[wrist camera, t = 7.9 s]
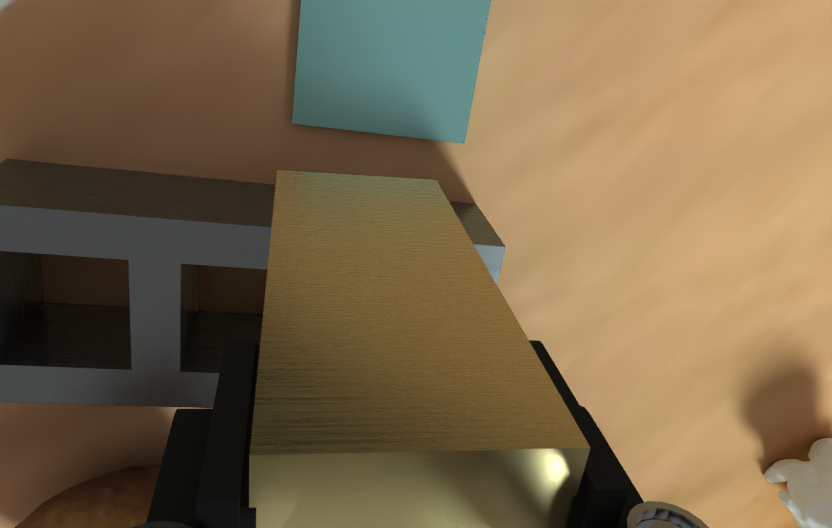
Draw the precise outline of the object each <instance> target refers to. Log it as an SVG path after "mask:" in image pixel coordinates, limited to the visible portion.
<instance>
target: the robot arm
mask: <svg viewBox="0 0 832 528" xmlns="http://www.w3.org/2000/svg"><path fill="white" fill-rule="evenodd" d="M529 342H530V344H531V345H532V347H533V349H534V350H535V352H536V354H537V356H538V357H539V359H540V361H541V363H542V364H543V366H544V368H545V370H546V371H547V373H548V375H549V376H550V378H551V380H552V382H553V383H554V385H555V387H556V389H557V390H558V392H559V394H560V396H561V397H562V399H563V401H564V403H565V404H566V406H567V408H568V409H569V411H570V413H571V415H572V416H573V418H574V420H575V422H576V423H577V425H578V427H579V429H580V430H581V432H582V434H583V436H584V437H585V439H586V441H587V442H588V444H589V446H590V452H589V455H588V458H587V462H586V465H585V469H584V472H583V475H582V479H581V482H580V485H579V489H578V492H577V496H573V497H572V501H571V504H570V508H569V511H568V514H567V518H566V521H565V525H564V528H709V527H708V526H707V525H706V524H705V523H704V522H703V521H702V520H700V519H699V518H698V517H696V516H695V515H693V514H692V513H690V512H689V511H687V510H684V509H682V508H680V507H678V506H676V505H673V504H668V503H664V502H654V501H648V502H644V501H643V500H642V498H641V497H640V495H639V493H638V492H637V490H636V488H635V487H634V485H633V484H632V482H631V480H630V479H629V477H628V475H627V474H626V472H625V470H624V469H623V467H622V466H621V464H620V462H619V461H618V459H617V457H616V456H615V454H614V453H613V451H612V449H611V448H610V446H609V444H608V443H607V441H606V440H605V438H604V436H603V435H602V433H601V431H600V430H599V428H598V427H597V425H596V423H595V422H594V420H593V418H592V417H591V415H590V414H589V412H588V411H587V410H586V409H585V407H582V406H580V405H579V404H578V402H577V400H576V399H575V397H574V395H573V394H572V392H571V390H570V389H569V387H568V385H567V384H566V382H565V380H564V379H563V377H562V375H561V374H560V372H559V370H558V369H557V367H556V365H555V364H554V362H553V361H552V359H551V357H550V356H549V354H548V352H547V351H546V349H545V347H544V346H543V344H542V343H541V342H540V341H533V340H529ZM259 352H260V345H257V337H226V341H225V346H224V351H223V357H222V362H221V368H220V373H219V379H218V384H217V390H216V395H215V401H214V406H213V409H177V410H176V412H175V415H174V418H173V422H172V426H171V429H170V433H169V437H168V441H167V445H166V448H165V452H164V456H163V460H162V464H161V467H160V471H159V475H158V479H157V483H156V486H155V490H154V494H153V498H152V502H151V505H150V509H149V513H148V517H147V521H146V523H145V524H141V525H138V526H135V527H132V528H256V507H252V508H249V455H250V445H251V434H252V424H253V414H254V403H255V393H256V383H257V372H258V362H259Z"/></svg>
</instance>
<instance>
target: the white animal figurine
mask: <svg viewBox="0 0 832 528" xmlns="http://www.w3.org/2000/svg"><path fill="white" fill-rule="evenodd" d="M808 458H809V459H810V461H808V462H803V461H800V460H797V459H784V460H780V461H777V462H776V463H774V464H773V465H772V466H771V467H770V468H768V469H767V471H766V472H765V479H766V480H767V481H769V482H771V483H780V482H785V481H788V483H787V488H788V492H789V493H787V492H779V493H778V497H779V498H780V499H781V501H782V502H783V503H784V504H785V506H786V507H787V508H788V509H789V510H790V512H791V513H792V515H793V517H794V519H795V521H796V523H797V525H798V526H799V527H800V528H832V438H829V437H827V438H823V439H819V440H817V441H815V442H814V443H813V444H812V446H811V449H810V452H809V454H808Z"/></svg>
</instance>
